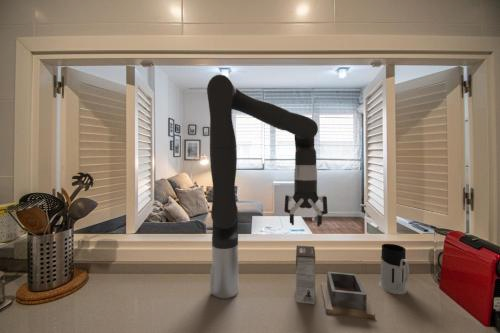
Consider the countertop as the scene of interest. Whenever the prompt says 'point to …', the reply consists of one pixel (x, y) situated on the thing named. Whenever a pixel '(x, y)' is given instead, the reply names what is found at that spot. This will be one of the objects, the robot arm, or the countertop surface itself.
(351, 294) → the dock
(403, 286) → the glass holder
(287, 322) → the countertop surface
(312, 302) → the coffee box
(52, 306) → the countertop surface
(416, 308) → the countertop surface
